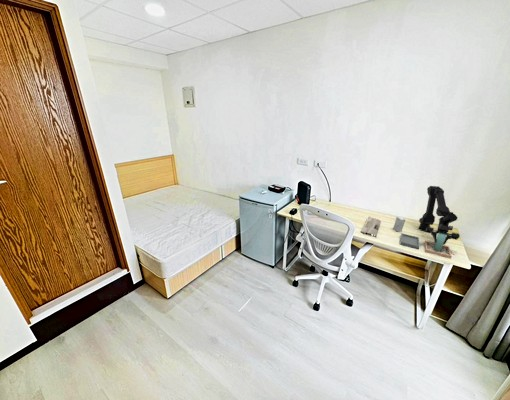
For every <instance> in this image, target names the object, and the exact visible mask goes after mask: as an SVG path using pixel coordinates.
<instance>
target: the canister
mask: <svg viewBox="0 0 510 400" xmlns="http://www.w3.org/2000/svg"><path fill="white" fill-rule="evenodd" d="M446 236H447V235H446V234H445V233H441V232H440V233H437V238H436V243H435V242H434V243H435V245H434V246H433V248H432V251H436V252H440V253H442V252H441V251H442V250H443V248H442V246H443V244H444V241H445V238H446ZM444 245H445V244H444Z"/></svg>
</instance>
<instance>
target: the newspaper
mask: <svg viewBox="0 0 510 400" xmlns="http://www.w3.org/2000/svg"><path fill="white" fill-rule="evenodd" d="M381 223H382V221H381V219H379V218H376V217H371V216H370V215H369V216H368V217H367V219H366V222H365V224H364V225H363V227H362V229H360V232H363V233H364V234H363V233H362V234H363V235H366V234H365V233H367V234H369V235H371V234H373V235H375V238H377V237H376V236H378V234H379V230H380V226H381Z"/></svg>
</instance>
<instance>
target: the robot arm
mask: <svg viewBox="0 0 510 400" xmlns="http://www.w3.org/2000/svg"><path fill="white" fill-rule="evenodd" d="M426 190H427V195H428V200H427V205H426V209H425V210H426V211H425V213H423V215H422V217H421V218H419V220H418V222H419V223H420V224H419V227H418V228H417V230H420V231H422V232H425V233H427V234H430V235H431V236H432V238H433V240H434V243H436V239H437V236H438V233H440V232H441V233H445V234H446V238H445V241H444V244H443V245H446V243H447V242H448V240H451V239H452V240H458V239H460V236H461V235H460V233H456V232H452V233H451V232H450V233H449V231H453V230H454V229H453V228H454V226H453V225H449V224H452V223H453V222H456V221H457V220H458V216H457V215H456V214H455V213H454V212H453V211H450V208H449V207H448V206H447V205H446V203H447V202H446V199H445V190H444V189H443V188H441V187H440V186H435V185H429V186H428V187H427V189H426ZM436 204H437V208H436V211H434V210H435V205H436ZM434 212H435V214H436V215H437V216H438V217H439V219H438V224H437V225H438V226H437V230H436V229H434V228H435V227H431V225H433V224H434V223H435V219H436V216H435V215H434Z"/></svg>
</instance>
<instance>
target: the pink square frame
mask: <svg viewBox="0 0 510 400" xmlns="http://www.w3.org/2000/svg"><path fill="white" fill-rule="evenodd" d="M428 245H429V246H432V247H434V245H435V242H431V241H428V240H424V251H425V253H427V254H432V255H436V256H440V257H444V258H447V259H452V257H453V256H452V253H451V249H450V246H448V245H446V244H444V245H443V246H442V249H445V250H446V251H447V254H446V253H442V252H436V251H434V250H433V249H432V250H431V249H428Z"/></svg>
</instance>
